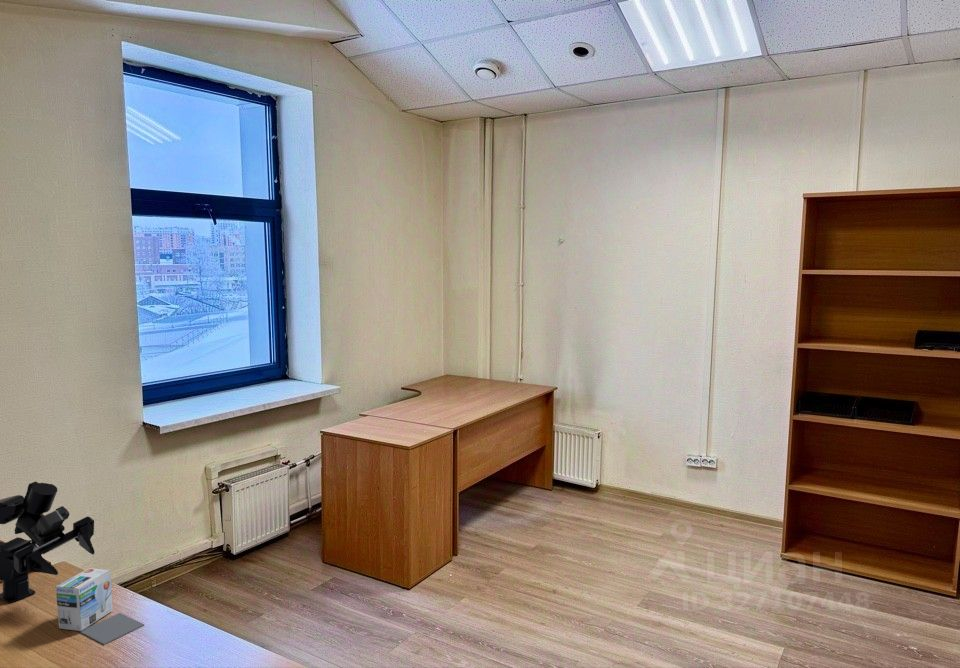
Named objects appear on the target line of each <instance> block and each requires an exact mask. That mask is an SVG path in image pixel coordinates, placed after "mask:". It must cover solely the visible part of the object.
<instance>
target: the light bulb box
mask: <svg viewBox="0 0 960 668" xmlns="http://www.w3.org/2000/svg"><path fill="white" fill-rule="evenodd" d="M55 589H56V590H55V592H56V594H55V595H56V603H57V604H56V605H57V606H56V607H57V618H58V628H59V630H62V629H63V630H69V631H77V632H80V631H82V630H84V629H85V628H88V627H90V626H92V625H94V624H95V623H96V622H98V621H99V620H100V619H102V618H103V617H105V616H107V615H108V614H109V613H111V612H112V611H113V610H114V608H113V607H114V606H113V594H112V591H113V590H112V577H111V570H110V569H101V568H92V567H91V568H90V567H88V568H86V569H84V570H82V571H81V572H79V573H78V574H75V575H74V576H72V577H70V578H69V579H67V580H65V581H63V582H62V583H60V584H58V585H56V586H55Z"/></svg>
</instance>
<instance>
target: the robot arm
mask: <svg viewBox="0 0 960 668" xmlns="http://www.w3.org/2000/svg"><path fill="white" fill-rule="evenodd" d="M57 492H58V487H57V486H56V485H55V484H53V483H47V482H38V481H33V482H31V483H28V486H27V490H26V493H25V496H23V495H21V494H17V495H12V496H9V497H5V498H2V499H0V525H6V524H8V523H9V524H10V523H11V522H13V521H15V520H16V523H15V528H14V534H15V535H19V534H23V533H24V534H25V536H27V537H28V538H29V539H28V540H27V539H25V538H23V537H19V536H17V537H15V538H12V539H11V540H9V541H6V542H4V541H3V542H2V541H0V581H1V583H2V592H1V593H0V600H1V601H4V602H5V603H8V604H12V603H13V602H16V601H19V600H21V599H24V598H27V597H30V596H31V595H34V594H36V590H35V589H32V588H30V579H29V574H30V573H41V574H49V575H53V576H57V575H59V573H58V569H57V568H56V567H55V566H54V565H52V564H51V563H50V562H49V561H48V560H46V559H45V558H44V557H43V556H42V555H45V554H47V553H49V552H50V551H54V550H55V549H57V548H59V547H61V546H63V545H65V544H67V543H69V542H71V541H73V540H75V542H78V546H80V547H81V548H83V549H84V550H85V551H86V552H87V553H89V554H91V555H95V552H96V551H95V548H94V546H93V544H92V541H91V539H92V537H93V536H94V535H95V520H94V519H93V517H91V516H88V515H87V516H85V517H83V518H81V519H79V520H77V521H75V522H73V524H72V530H70V531H68V532H65V533H64V531H65V529H66V528H65V527H66V526H64V525H63V523H64V522H65V521H66V520H68V519H69V517H70V512H69V510H68V509H67V508H66V507H64V506H63V505H62V506H60V507H58V508H55V510H54V511H52V512H50V513H48V512H49V511H51V509H52V506H53V502H55V497H56V495H57ZM45 513H47V514H45Z"/></svg>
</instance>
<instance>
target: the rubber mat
mask: <svg viewBox="0 0 960 668" xmlns="http://www.w3.org/2000/svg"><path fill="white" fill-rule="evenodd" d="M142 627H145V624H144V623H142V622H141V621H139V620H136V619H133V618H132V617H129V616H127V615H126V614H123V613H121V612H118V613H116V614H115V615H112V616H110V617H108V618H105V619H103V620H101V621H99V622H97V623H96V622H95V623H93V624H91V625H90V626H88V627H87V628H85V629H84V630H82V631H79V633H80V634H81V635H84V636H86V637H88V638H90V639H92V640H93V641H95V642H97V643H98V644H99V643H100V644H101V645H103V646H106V645H109V643H112V642H114V641H116V640H118V639H120V638H121V637H122V638H123V637H125V636H126V635H128V634H130V633H133V632H134V631H136V630H138V629H140V628H142Z"/></svg>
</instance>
